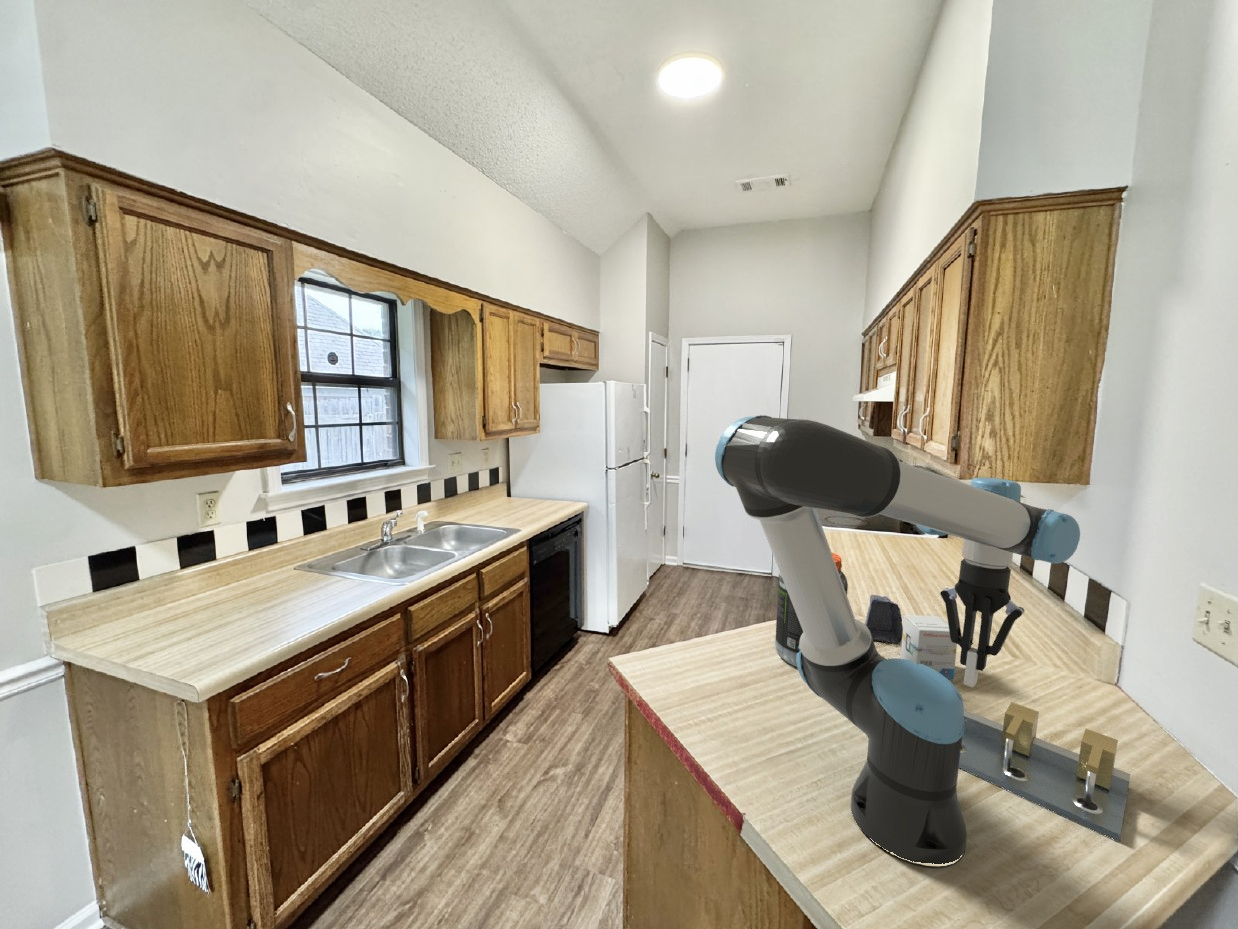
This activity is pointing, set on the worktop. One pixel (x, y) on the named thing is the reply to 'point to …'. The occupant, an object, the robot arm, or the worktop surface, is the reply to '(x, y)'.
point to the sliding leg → (1018, 730)
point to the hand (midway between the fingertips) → (970, 683)
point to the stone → (884, 620)
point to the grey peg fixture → (1052, 774)
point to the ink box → (929, 643)
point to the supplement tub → (793, 620)
